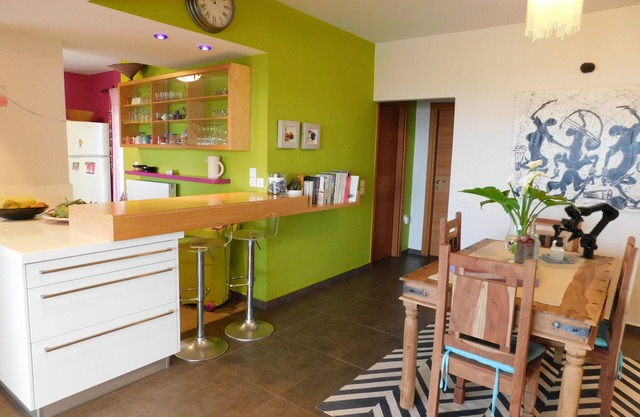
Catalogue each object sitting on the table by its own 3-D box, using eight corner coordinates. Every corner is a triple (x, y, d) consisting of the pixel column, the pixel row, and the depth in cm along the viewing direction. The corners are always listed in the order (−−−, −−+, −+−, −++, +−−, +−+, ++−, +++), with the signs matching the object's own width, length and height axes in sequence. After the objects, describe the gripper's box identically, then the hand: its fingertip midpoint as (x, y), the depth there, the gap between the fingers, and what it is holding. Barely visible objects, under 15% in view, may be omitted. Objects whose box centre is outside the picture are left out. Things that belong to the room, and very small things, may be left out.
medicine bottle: (561, 258, 274) (564, 240, 272) (562, 261, 268) (565, 242, 266) (549, 257, 277) (551, 239, 275) (550, 259, 271) (552, 241, 269)
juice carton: (522, 273, 242) (526, 235, 238) (513, 269, 248) (517, 232, 245) (531, 272, 243) (535, 234, 240) (523, 269, 250) (527, 232, 247)
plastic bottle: (539, 268, 252) (543, 235, 249) (527, 267, 253) (531, 234, 250) (536, 266, 258) (540, 233, 255) (524, 265, 259) (528, 232, 256)
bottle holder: (537, 257, 280) (538, 253, 279) (562, 258, 279) (563, 254, 279) (548, 263, 266) (548, 258, 265) (574, 264, 265) (575, 259, 265)
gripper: (555, 211, 280) (542, 229, 277) (583, 216, 263) (570, 235, 260) (562, 222, 285) (549, 240, 281) (590, 228, 268) (576, 246, 265)
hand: (560, 240), depth 272 cm, fingers open, 9 cm apart
